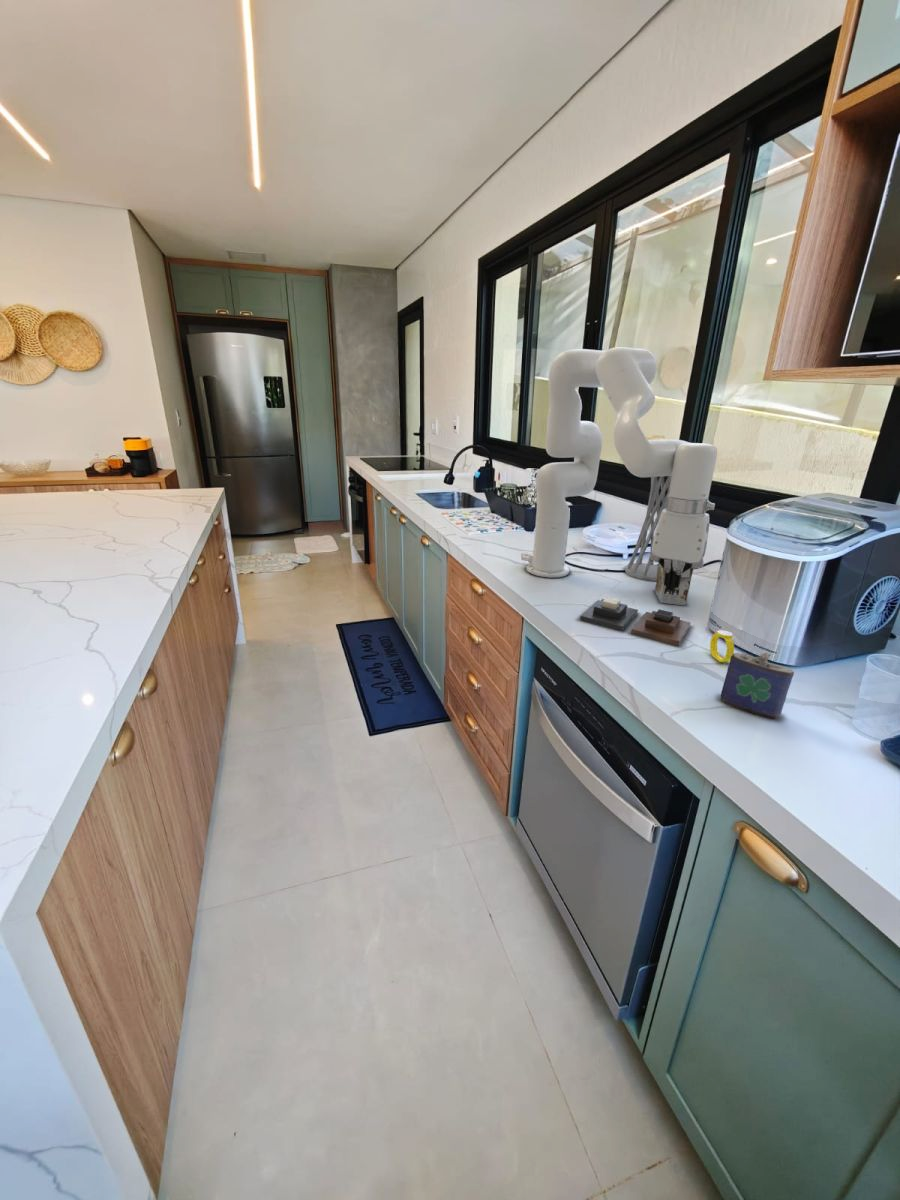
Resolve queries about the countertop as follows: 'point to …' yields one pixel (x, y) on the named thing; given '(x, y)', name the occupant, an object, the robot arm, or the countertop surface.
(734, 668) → the flask
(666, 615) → the dark key
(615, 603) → the ivory key
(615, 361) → the robot arm
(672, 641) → the walnut key block
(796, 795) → the countertop surface
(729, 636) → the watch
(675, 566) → the coffee box
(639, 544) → the grey lattice tower
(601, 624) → the black key block
